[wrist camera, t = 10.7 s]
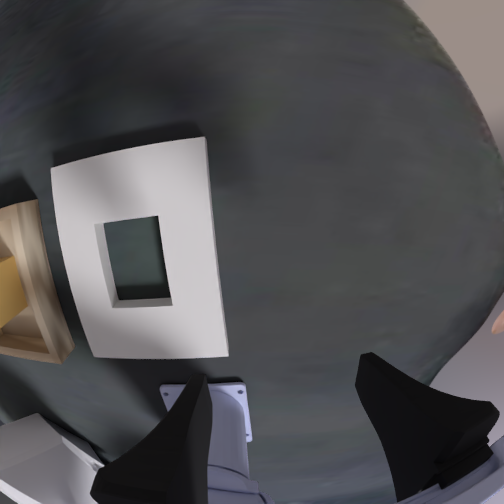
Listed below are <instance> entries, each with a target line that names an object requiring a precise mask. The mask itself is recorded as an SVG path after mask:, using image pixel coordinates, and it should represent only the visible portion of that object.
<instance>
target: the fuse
mask: <svg viewBox="0 0 504 504" xmlns="http://www.w3.org/2000/svg"><path fill="white" fill-rule="evenodd" d="M27 306H28V304H27V301H26V298H25V295H24V292H23V288H22V285H21V281H20V278H19V274H18V270H17V266H16V262H15V257H14V256H9V257H3V258H0V329H1V328H2V327H3V326H4V325H5V324H6V323H8V322H9V321H10V320H11V319H12V318H14V317H15V316H16V315H17V314H19V313H20V312H21V311H22V310H24V309H25V308H26V307H27Z"/></svg>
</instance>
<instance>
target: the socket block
mask: <svg viewBox="0 0 504 504" xmlns="http://www.w3.org/2000/svg"><path fill="white" fill-rule="evenodd" d="M51 179H52V190H53V199H54V207H55V215H56V221H57V227H58V233H59V239H60V244H61V249H62V254H63V258H64V263H65V267H66V271H67V275H68V279H69V283H70V287H71V291H72V294H73V298H74V301H75V304H76V308H77V311H78V314H79V317H80V320H81V323H82V326H83V329H84V332H85V335H86V337H87V340H88V343H89V345H90V348H91V351H92V353H93V356H94V357H102V358H125V359H184V358H208V357H225V356H228V339H227V331H226V324H225V316H224V309H223V301H222V293H221V284H220V276H219V267H218V259H217V249H216V240H215V230H214V220H213V210H212V199H211V188H210V177H209V164H208V151H207V140H206V138H205V137H198V138H190V139H183V140H175V141H169V142H162V143H156V144H150V145H145V146H139V147H134V148H129V149H124V150H119V151H115V152H110V153H106V154H101V155H97V156H93V157H89V158H85V159H81V160H78V161H74V162H70V163H67V164H63V165H60V166H57V167H53V168H51ZM150 216H158V217H159V225H160V233H161V240H162V246H163V253H164V259H165V265H166V271H167V277H168V283H169V288H170V293H171V298H156V299H137V300H119V299H118V295H117V291H116V287H115V283H114V278H113V274H112V269H111V264H110V259H109V254H108V249H107V244H106V238H105V232H104V226H103V223H106V222H113V221H120V220H127V219H134V218H142V217H150Z"/></svg>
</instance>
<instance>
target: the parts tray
mask: <svg viewBox="0 0 504 504" xmlns="http://www.w3.org/2000/svg"><path fill="white" fill-rule="evenodd" d="M9 256H14V257H15V262H16V266H17V270H18V274H19V278H20V281H21V285H22V288H23V292H24V295H25V298H26V301H27V304H28V306H27V307H26V308H25V309H24V310H22V311H21V312H20V313H19V314H17V315H16V316H15V317H14V318H12V319H11V320H10V321H9V322H8V323H6V324H5V325H4V326H3V327H2V328H1V329H0V353H1V354H5V355H10V356H15V357H20V358H26V359H31V360H37V361H44V362H51V363H58V364H62V363H63V362H64V361H65V359H66V358H67V357H68V355H69V354H70V353H71V351H72V350H73V349H74V348H75V344H74V342H73V339H72V337H71V334H70V331H69V329H68V326H67V323H66V320H65V317H64V314H63V311H62V308H61V305H60V302H59V298H58V295H57V292H56V288H55V285H54V281H53V277H52V273H51V269H50V265H49V261H48V256H47V252H46V247H45V242H44V237H43V231H42V225H41V219H40V212H39V204H38V199H36V200H31V201H26V202H21V203H17V204H13V205H10V206H7V207H4V208H1V209H0V258H3V257H9Z"/></svg>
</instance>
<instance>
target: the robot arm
mask: <svg viewBox="0 0 504 504" xmlns="http://www.w3.org/2000/svg"><path fill="white" fill-rule="evenodd" d="M355 387H356V390H357V393H358V396H359V398H360V401H361V403H362V405H363V407H364V409H365V411H366V413H367V415H368V417H369V419H370V420H371V422H372V424H373V426H374V428H375V430H376V432H377V434H378V436H379V438H380V440H381V443H382V446H383V448H384V451H385V454H386V457H387V460H388V464H389V467H390V471H391V474H392V478H393V482H394V487H395V492H396V498H397V503H395V504H484V503H485V502H486V501H487V500H489V499H490V498H491V497H492V496H494V495H495V494H496V493H497V492H499V491H500V490H501V489H502V488H503V487H504V436H502V437H501V438H500V439H499V440H497V441H496V442H495V443H494V444H492V445H491V446H490V447H489V446H488V444H487V443H488V442H489V439H488V437H487V435H488V433H489V432H490V431H491V429H492V428H493V426H494V425H495V423H496V422H497V420H498V418H499V415H500V414H499V411H498V410H497V408H496V407H495V406H494V405H493V404H492V403H491V402H490V401H479V400H471V399H466V398H461V397H457V396H453V395H450V394H446V393H444V392H440V391H438V390H436V389H433V388H431V387H429V386H426V385H424V384H422V383H420V382H418V381H417V380H415V379H413V378H411V377H409V376H408V375H406V374H404V373H403V372H401V371H400V370H398V369H397V368H395V367H393V366H392V365H391V364H389V363H388V362H386V361H385V360H383V359H382V358H380V357H379V356H377V355H376V354H374V353H373V352H370V353H366V354H361V356H360V361H359V367H358V372H357V377H356V382H355ZM239 390H242V391H239ZM160 392H161V395H162V398H163V400H164V403H165V406H166V408H167V411H168V413H167V414H166V415H165V416H164V418H163V419H162V420H161V421H160V423H159V424H158V425H157V426H156V427H155V428H154V429H153V430H152V431H151V432H150V433H149V434H148V435H147V436H146V437H145V438H144V439H143V440H142V441H141V442H140V443H138V444H137V445H136V446H135V447H133V448H132V449H131V450H129V451H128V452H127V453H125V454H124V455H122V456H121V457H119V458H118V459H116V460H115V461H113V462H111V463H109V464H107V465H105V466H103V467H101V468H99V469H98V472H97V474H96V475H95V478H94V481H93V484H92V487H91V491H90V495H91V497H92V498H93V499H94V500H95V501H96V502H97V503H98V504H275V502H274V501H273V499H272V498H271V497H270V496H269V495H268V494H267V493H264V492H259V487H258V481H253V480H250V479H249V467H248V454H247V442H250V441H252V432H251V425H250V418H249V410H248V402H247V394H246V387H245V384H244V383H243V382H232V383H216V384H208V383H207V379H206V374H195V375H191V376H190V378H189V380H188V382H187V384H185V385H161V386H160ZM165 392H166V393H165ZM167 393H168V394H167Z"/></svg>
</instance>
